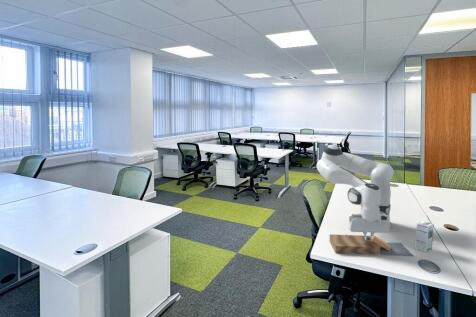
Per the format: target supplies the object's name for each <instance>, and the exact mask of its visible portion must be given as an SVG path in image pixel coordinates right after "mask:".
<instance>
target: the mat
mask: <svg viewBox="0 0 476 317" xmlns="http://www.w3.org/2000/svg"><path fill="white" fill-rule="evenodd" d="M386 243H387V244H388V245H389V246H390V247H391V249H390V251H388V250H387V249H385V248H383V247H382V246H380V245H379V247H380V255H381V256H398V257H399V256H400V257H402V256H403V257H415V255H414V254H413V253H412V252H411V251H410V250H409V249H408V248H407V247H405V245H404V244H402V243H401V242H386Z"/></svg>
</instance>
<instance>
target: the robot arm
mask: <svg viewBox="0 0 476 317" xmlns="http://www.w3.org/2000/svg"><path fill="white" fill-rule="evenodd" d="M321 155H322V156H321V158H320V159H319V160H318V161H317V163H316V165H315V166H316V169H317V171H318V172H319V174H320V175H321V176H322V177H323V178H324V179H325V180H327V182H329V183H331V184H334V185H335V184H336V185H337V184H339V185H349V186H352V187H350V188H349V189H348V191H347V199H348V201H349V203H351V204H352V205H358V206H360V211H358V212H359V213H358V214H355V213H354V214H353V213H352V214H351V215H349V216H348V221H349V222H348V226H347V227H348V230H349V231H350V232H351V233H363V236H365V240H371V239H372V236H373V235H374V236H375V233H377V234H378V233H379V234H380V233H381V234H382V233H383V234H389V233H390V231H391V227H392V224H391V218H390V214H391V213H390V212H391V206H392V205H391V197H392V196H391V193H392V192H391V191H392V190H391V180H392V178H393V176H394V174H395V173H394V172H395V171H394V169H393V168H394V167H392V166H391V165H390V164H387V163H384V162H379V161H376V160H373V159H367V158H365V157H361V156H359V155H356V154H352V153H348V152H344V151H342V149H341V148H340V147H339V146H338V145H336V144H326V146H325V147H324V149H323V152H322V154H321ZM353 173H355V174H357V175H359V176H364V177H369V178H370V182H366V181H365V180H364V179H362V178H360V177H358V176H357V175H355V174H353ZM368 233H369V235H367V234H368Z"/></svg>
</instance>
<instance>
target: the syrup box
mask: <svg viewBox="0 0 476 317" xmlns="http://www.w3.org/2000/svg"><path fill="white" fill-rule="evenodd" d="M434 225H435V223H431V222H429V221H425V220H421V221H419V222H417V223H416V229H415V230H416V232H415V245H414V248H415V249H416V250H418V251H420V252H422V253H423V252H424V253H428V252H430V251H432V250H433V249H432V248H433V240H434V239H433V238H434Z"/></svg>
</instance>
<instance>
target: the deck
mask: <svg viewBox="0 0 476 317" xmlns="http://www.w3.org/2000/svg"><path fill="white" fill-rule="evenodd" d="M329 243H330V245H331V247H332V249H333V251H334V253H335V254H349V255H350V254H352V255H374V256H375V255H376V256H379V255H381V254H380V247H379V245H378V244H376V243H375V242H374V241H373V240H372V239H371V240H365V235H360V234H358V235H356V234H353V235H352V234H331V233H330V234H329Z"/></svg>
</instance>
